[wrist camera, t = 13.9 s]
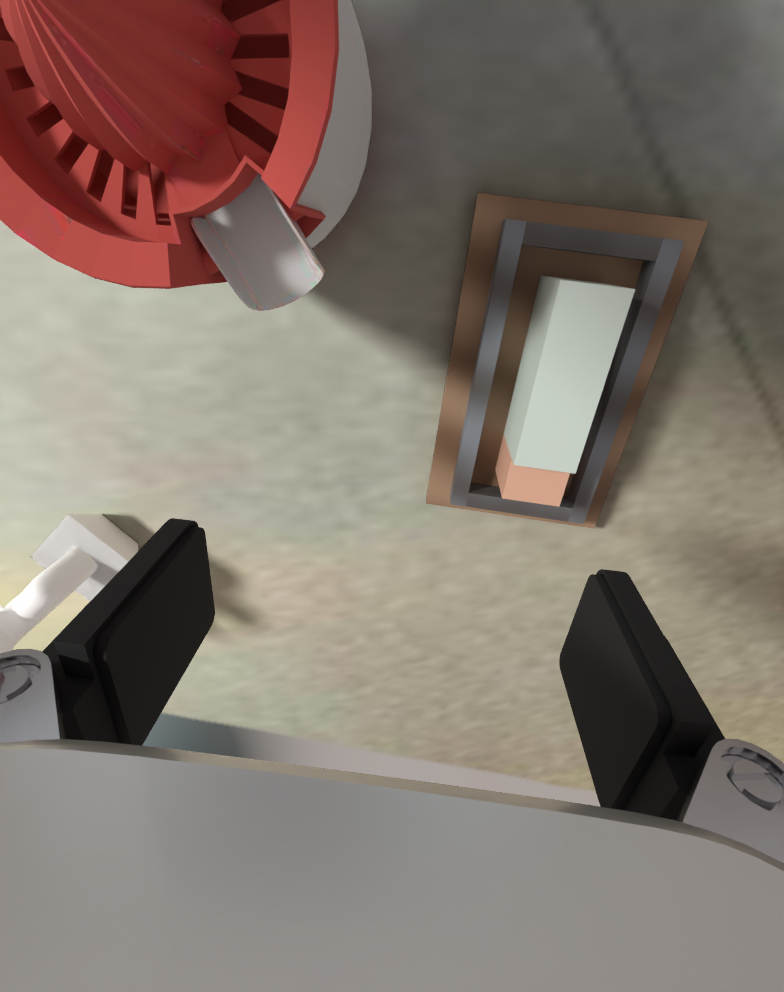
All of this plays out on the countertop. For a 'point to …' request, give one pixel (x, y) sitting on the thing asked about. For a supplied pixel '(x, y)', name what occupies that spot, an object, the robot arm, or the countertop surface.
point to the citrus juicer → (183, 137)
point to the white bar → (559, 385)
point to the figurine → (67, 571)
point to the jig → (503, 329)
